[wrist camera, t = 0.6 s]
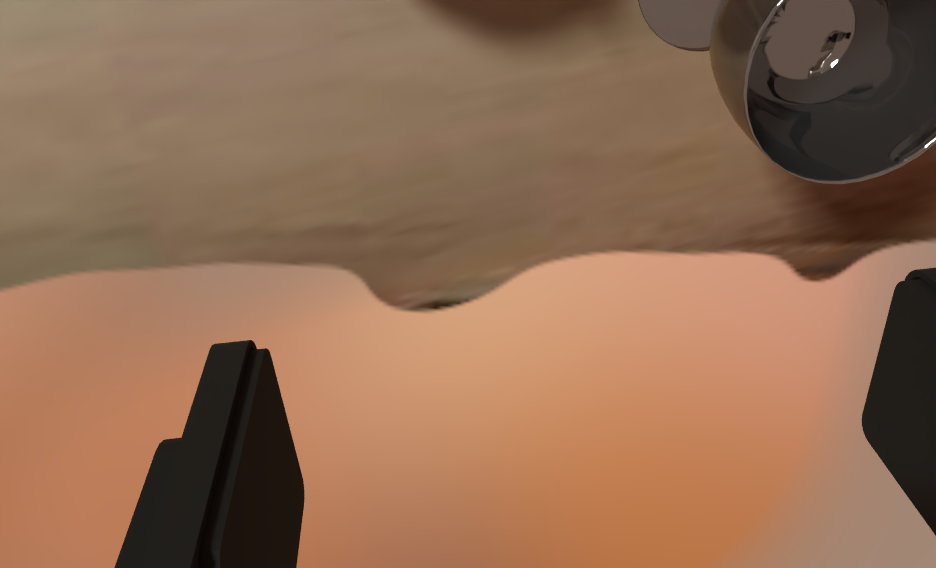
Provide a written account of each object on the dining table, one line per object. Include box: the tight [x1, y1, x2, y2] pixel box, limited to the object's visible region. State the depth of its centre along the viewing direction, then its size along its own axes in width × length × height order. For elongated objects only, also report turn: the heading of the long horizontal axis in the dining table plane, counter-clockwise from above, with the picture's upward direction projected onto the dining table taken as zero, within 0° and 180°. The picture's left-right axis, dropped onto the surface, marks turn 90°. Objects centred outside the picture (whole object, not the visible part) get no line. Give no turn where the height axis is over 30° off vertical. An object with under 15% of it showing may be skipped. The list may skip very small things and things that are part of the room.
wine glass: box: [638, 0, 936, 184], centre depth 32 cm, size 8×8×15 cm
